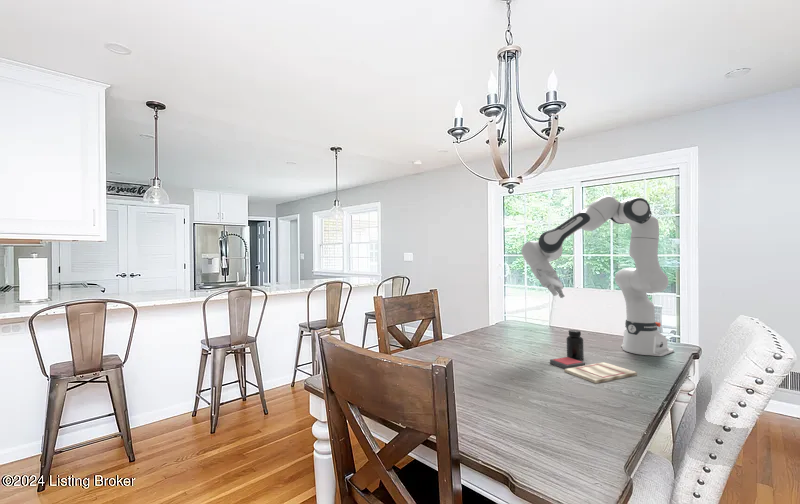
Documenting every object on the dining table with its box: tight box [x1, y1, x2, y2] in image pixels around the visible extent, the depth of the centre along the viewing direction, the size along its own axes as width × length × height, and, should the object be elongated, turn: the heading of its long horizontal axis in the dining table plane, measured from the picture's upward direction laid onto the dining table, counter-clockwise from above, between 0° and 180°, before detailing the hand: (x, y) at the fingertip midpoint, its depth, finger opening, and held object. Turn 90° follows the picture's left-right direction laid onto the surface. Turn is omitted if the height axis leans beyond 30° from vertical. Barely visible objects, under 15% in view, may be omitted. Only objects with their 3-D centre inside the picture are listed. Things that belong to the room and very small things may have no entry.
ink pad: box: [549, 356, 586, 370], centre depth 154 cm, size 10×9×2 cm
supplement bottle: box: [565, 329, 585, 361], centre depth 164 cm, size 7×7×12 cm
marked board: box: [564, 361, 638, 384], centre depth 143 cm, size 22×14×1 cm, turn 113°
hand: (559, 296), depth 168 cm, fingers open, 8 cm apart
